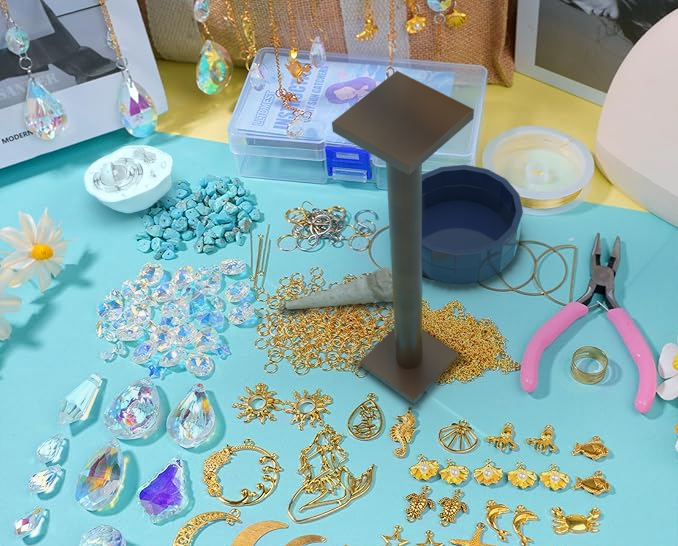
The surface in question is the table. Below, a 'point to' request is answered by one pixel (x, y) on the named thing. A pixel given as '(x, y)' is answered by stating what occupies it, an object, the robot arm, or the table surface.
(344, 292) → the seashell
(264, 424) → the table surface
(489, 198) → the pot
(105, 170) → the cell model
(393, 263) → the stand
